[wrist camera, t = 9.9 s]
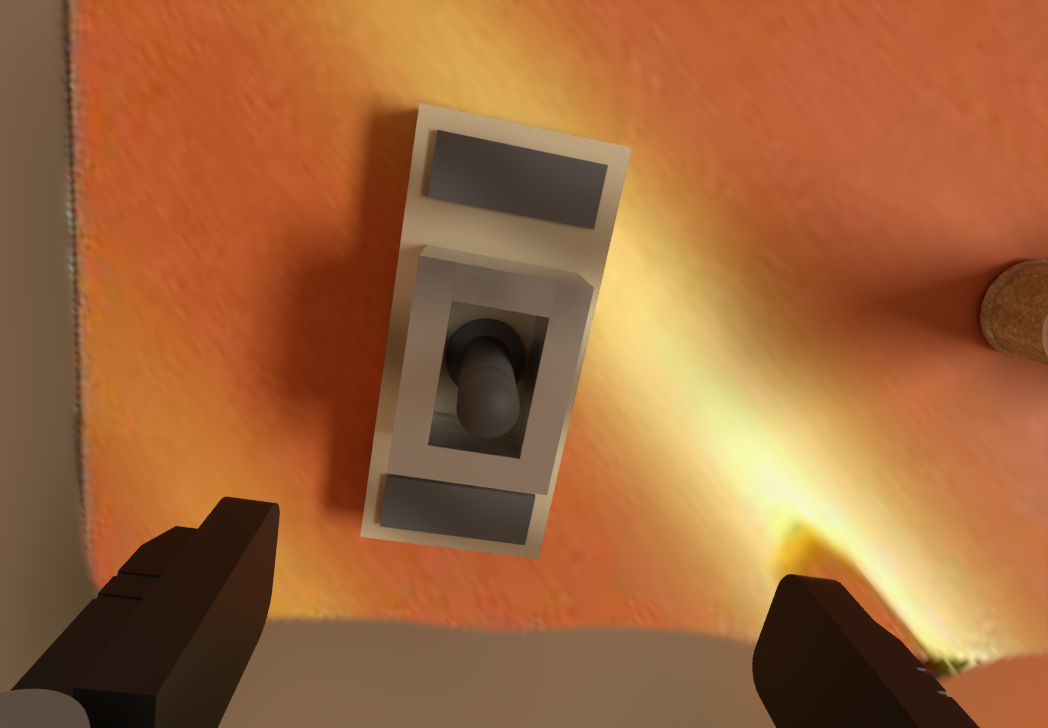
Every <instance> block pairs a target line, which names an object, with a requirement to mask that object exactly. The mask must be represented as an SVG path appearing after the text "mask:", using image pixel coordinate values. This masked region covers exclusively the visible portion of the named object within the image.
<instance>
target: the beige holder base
mask: <svg viewBox="0 0 1048 728" xmlns="http://www.w3.org/2000/svg"><path fill="white" fill-rule="evenodd" d="M631 149H632V148H631V147H626V146H621V145H617V144H612V143H607V142H603V141H598V140H593V139H589V138H584V137H579V136H574V135H570V134H565V133H560V132H556V131H551V130H546V129H541V128H537V127H532V126H527V125H523V124H518V123H513V122H509V121H504V120H499V119H494V118H490V117H485V116H480V115H476V114H471V113H466V112H462V111H457V110H452V109H447V108H443V107H438V106H433V105H429V104H424V103H419V110H418V117H417V125H416V132H415V139H414V147H413V154H412V161H411V169H410V176H409V183H408V191H407V198H406V205H405V213H404V220H403V227H402V235H401V242H400V249H399V257H398V264H397V271H396V279H395V286H394V293H393V300H392V308H391V315H390V322H389V330H388V337H387V344H386V352H385V359H384V366H383V374H382V381H381V388H380V396H379V403H378V410H377V418H376V425H375V432H374V440H373V447H372V454H371V462H370V469H369V476H368V484H367V491H366V498H365V506H364V513H363V520H362V527H361V535H360V537H367V538H375V539H383V540H391V541H399V542H407V543H415V544H423V545H431V546H438V547H446V548H454V549H462V550H470V551H478V552H486V553H494V554H502V555H510V556H518V557H525V558H533V559H539V555H540V550H541V546H542V541H543V537H544V533H545V528H546V524H547V519H548V515H549V510H550V506H551V502H552V497H553V493H554V488H555V484H556V480H557V475H558V471H559V466H560V462H561V458H562V453H563V449H564V444H565V440H566V435H567V431H568V427H569V422H570V418H571V413H572V409H573V405H574V400H575V396H576V391H577V387H578V382H579V378H580V374H581V369H582V365H583V360H584V356H585V352H586V347H587V343H588V338H589V334H590V330H591V325H592V321H593V316H594V312H595V307H596V303H597V299H598V294H599V290H600V285H601V281H602V277H603V272H604V268H605V263H606V259H607V254H608V250H609V246H610V241H611V237H612V232H613V228H614V224H615V219H616V215H617V210H618V206H619V201H620V197H621V193H622V188H623V184H624V179H625V175H626V171H627V166H628V162H629V157H630V153H631ZM427 245H432V246H437V247H443V248H448V249H453V250H458V251H464V252H469V253H474V254H480V255H485V256H490V257H495V258H501V259H506V260H511V261H517V262H522V263H527V264H533V265H538V266H543V267H548V268H554V269H559V270H564V271H570V272H575V273H579V274H580V275H581V276H582V277H583V278H584V279H585V280H586V281H587V282H588V283H590V284H591V285H592V286H593V287H594V291H593V295H592V300H591V304H590V309H589V313H588V317H587V322H586V326H585V331H584V335H583V339H582V344H581V348H580V353H579V357H578V361H577V366H576V370H575V375H574V379H573V383H572V388H571V392H570V397H569V401H568V405H567V410H566V414H565V418H564V423H563V427H562V432H561V436H560V440H559V445H558V449H557V454H556V458H555V462H554V467H553V471H552V476H551V480H550V484H549V489H548V493H547V495H541V494H534V493H527V492H520V491H513V490H506V489H499V488H492V487H485V486H478V485H471V484H464V483H457V482H450V481H443V480H436V479H429V478H422V477H415V476H408V475H401V474H394V473H387V468H388V461H389V455H390V448H391V441H392V435H393V428H394V421H395V415H396V408H397V401H398V394H399V388H400V381H401V374H402V368H403V361H404V354H405V347H406V341H407V334H408V327H409V321H410V314H411V307H412V300H413V294H414V287H415V280H416V274H417V267H418V260H419V255H420V254H421V252H422V251H423V250H424V248H425V247H426V246H427ZM535 320H536V315H531V314H525V313H520V312H514V311H508V310H503V309H497V308H492V307H486V306H480V305H475V304H469V303H464V302H458V301H452V307H451V313H450V319H449V325H448V331H447V337H446V343H445V349H444V355H443V361H442V367H441V373H440V379H439V385H438V391H437V397H436V403H435V409H434V411H438V412H444V413H450V414H457V416H458V419H459V421H460V423H461V425H462V426H463V427H464V428H465V429H466V430H467V431H468V432H470V433H471V434H473V435H475V436H478V437H482V438H493V437H497V436H500V435H503V434H504V433H506V432H508V431H509V430H510V429H511V428H512V427H513V426H514V424H515V423H516V421H517V419H518V416H519V412H520V404H519V398H520V394H521V389H522V384H523V379H524V374H525V369H526V364H527V359H528V354H529V350H530V345H531V340H532V335H533V330H534V325H535Z"/></svg>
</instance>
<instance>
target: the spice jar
mask: <svg viewBox="0 0 1048 728" xmlns="http://www.w3.org/2000/svg"><path fill="white" fill-rule="evenodd" d="M980 323H981V331H982V332H983V335H984V337H985V338H986V339H987V341H988V343H989V344H991V345H992V347H993V348H994V349H996V350H998V351H999V352H1001V353H1004V354H1007V355H1012V356H1022V357H1025V358H1029V359H1032V360H1035V361H1039V362H1041V363H1044V364H1047V365H1048V259H1032V260H1027V261H1024V262H1021V263H1018V264H1016V265H1014V266H1012V267H1011V268H1009V269H1007V270H1006V271H1004V272H1003V273H1002V274H1001V275H1000V276H999V277H998V278H997V279H996V280H995V281H994V282H993V283H992V284H991V286H990V287H989V288H988V289H987V292H986V295H985V297H984V299H983V301H982V305H981V315H980Z"/></svg>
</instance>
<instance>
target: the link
mask: <svg viewBox="0 0 1048 728" xmlns="http://www.w3.org/2000/svg"><path fill="white" fill-rule="evenodd" d="M593 291H594V287H593V286H592V285H591V284H590V283H588V282H587V281H586V280H585V279H584V278H583V277H582V276H581V275H580V274H579V273H575V272H570V271H564V270H559V269H554V268H548V267H543V266H538V265H533V264H527V263H522V262H517V261H511V260H506V259H501V258H495V257H490V256H485V255H480V254H474V253H469V252H464V251H458V250H453V249H448V248H443V247H437V246H432V245H427V246H426V247H425V248H424V250H423V251H422V252H421V254H420V255H419V260H418V267H417V274H416V280H415V287H414V294H413V300H412V307H411V314H410V321H409V327H408V334H407V341H406V347H405V354H404V361H403V368H402V374H401V381H400V388H399V394H398V401H397V408H396V415H395V421H394V428H393V435H392V441H391V448H390V455H389V461H388V468H387V473H394V474H401V475H408V476H415V477H422V478H429V479H436V480H443V481H450V482H457V483H464V484H471V485H478V486H485V487H492V488H499V489H506V490H513V491H520V492H527V493H534V494H541V495H547V493H548V489H549V484H550V480H551V476H552V471H553V467H554V462H555V458H556V454H557V449H558V445H559V440H560V436H561V432H562V427H563V423H564V418H565V414H566V410H567V405H568V401H569V397H570V392H571V388H572V383H573V379H574V375H575V370H576V366H577V361H578V357H579V353H580V348H581V344H582V339H583V335H584V331H585V326H586V322H587V317H588V313H589V309H590V304H591V300H592V295H593ZM452 301H458V302H464V303H469V304H475V305H480V306H486V307H492V308H497V309H503V310H508V311H514V312H520V313H525V314H531V315H536V320H535V325H534V330H533V335H532V340H531V345H530V350H529V354H528V359H527V364H526V369H525V374H524V379H523V384H522V389H521V394H520V398H519V404H520V412H519V416H518V419H517V421H516V423H515V424H514V426H513V427H512V428H511V429H510V430H509V431H508V432H506V433H504V434H503V435H500V436H497V437H493V438H482V437H478V436H475V435H473V434H471V433H470V432H468V431H467V430H466V429H465V428H464V427H463V426H462V425H461V423H460V421H459V419H458V416H457V414H450V413H444V412H438V411H434V409H435V403H436V397H437V391H438V385H439V379H440V373H441V367H442V361H443V355H444V349H445V343H446V337H447V331H448V325H449V319H450V313H451V307H452Z"/></svg>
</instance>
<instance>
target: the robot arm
mask: <svg viewBox="0 0 1048 728" xmlns="http://www.w3.org/2000/svg"><path fill="white" fill-rule="evenodd" d="M279 516H280V511H279V505H278V504H277V503H270V502H263V501H256V500H248V499H241V498H233V497H224V498H222V499H221V500H220V501H219V503H218V504H217V505H216V506H215V508H214V509H213V510H212V512H211V513H210V514H209V515H208V517H207V518H206V519H205V520H204V522H203V523H202V524H201V526H200V527H199V528H198V529H195V528H187V527H179V526H175V527H174V528H172V529H170V530H168V531H166V532H165V533H163V534H161V535H159V536H157V537H156V538H154V539H152V540H150V541H148V542H147V543H145V544H143V545H141V546H140V547H139V549H138V550H137V551H136V552H135V553H134V554H133V555H132V556H131V557H130V558H129V560H128V561H127V562H126V563H125V564H124V565H123V566H122V567H121V568H120V570H119V571H118V574H117V576H113V577H112V578H111V580H110V581H109V582H108V583H107V584H106V585H105V586H104V587H103V588H102V590H101V591H100V592H99V593H98V597H97V599H93V600H92V601H91V602H90V603H89V604H88V605H87V606H86V607H85V609H84V610H83V611H82V612H81V613H80V614H79V615H78V616H77V617H76V619H74V621H73V622H72V623H71V624H70V625H69V626H68V627H67V628H66V629H65V630H64V632H63V633H62V634H61V635H60V636H59V637H58V638H57V639H56V641H55V642H54V643H53V644H52V645H51V646H50V647H49V648H48V649H47V651H46V652H45V653H44V654H43V655H42V656H41V657H40V658H39V659H38V660H37V662H36V663H35V664H34V665H33V666H32V667H31V668H30V669H29V670H28V671H27V673H26V674H25V675H24V676H23V677H22V678H21V679H20V680H19V682H18V683H17V684H16V685H15V686H14V687H13V688H12V689H11V690H10V691H7V692H2V693H0V728H218V726H219V724H220V721H221V719H222V717H223V715H224V713H225V711H226V709H227V707H228V705H229V702H230V700H231V698H232V696H233V694H234V691H235V690H236V688H237V685H238V683H239V681H240V679H241V677H242V675H243V672H244V670H245V668H246V666H247V664H248V662H249V660H250V658H251V655H252V653H253V651H254V649H255V647H256V645H257V643H258V641H259V638H260V636H261V633H262V631H263V628H264V625H265V622H266V618H267V614H268V610H269V606H270V601H271V595H272V587H273V577H274V567H275V557H276V547H277V537H278V527H279ZM752 664H753V665H752V667H753V669H752V670H753V679H754V683H755V687H756V690H757V692H758V695H759V697H760V698H761V700H762V702H763V704H764V706H765V708H766V710H767V711H768V713H769V715H770V717H771V719H772V721H773V723H774V724H775V726H776V728H979V727H978V726H977V725H976V723H975V722H974V721H973V720H972V719H971V718H970V717H969V716H968V714H967V713H966V712H965V711H964V710H963V709H962V708H961V707H960V706H959V705H958V703H957V702H956V701H955V700H954V699H953V698H952V697H947V695H946V690H945V689H944V688H943V687H942V686H941V685H940V684H939V682H938V681H937V680H936V679H935V678H934V677H933V676H932V675H931V674H929V673H926V672H925V667H924V666H923V665H922V664H921V663H920V661H919V660H918V659H917V658H916V657H915V656H914V655H913V654H912V653H911V652H910V650H909V649H908V648H907V647H906V646H905V645H904V644H903V643H902V642H901V641H900V640H899V639H898V638H896V637H895V636H894V635H892V634H891V633H890V632H888V631H887V630H886V629H884V628H883V627H882V626H880V625H879V624H878V623H876V622H875V621H874V620H873V619H872V618H871V617H870V616H869V614H868V613H867V612H866V611H865V610H864V609H863V608H862V607H861V605H860V604H859V603H858V602H857V601H856V600H855V599H854V598H853V596H852V595H851V594H850V593H849V592H848V591H847V590H846V589H845V587H844V586H843V585H842V584H841V583H839V582H838V581H836V580H832V579H824V578H817V577H809V576H802V575H795V574H789V575H786V576H785V577H783V579H782V580H781V581H780V583H779V585H778V587H777V590H776V592H775V595H774V598H773V601H772V603H771V606H770V609H769V612H768V614H767V617H766V620H765V623H764V625H763V628H762V631H761V634H760V636H759V639H758V642H757V645H756V647H755V650H754V655H753V663H752Z"/></svg>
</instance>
